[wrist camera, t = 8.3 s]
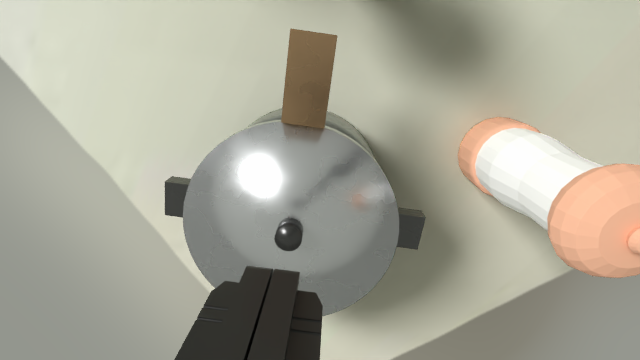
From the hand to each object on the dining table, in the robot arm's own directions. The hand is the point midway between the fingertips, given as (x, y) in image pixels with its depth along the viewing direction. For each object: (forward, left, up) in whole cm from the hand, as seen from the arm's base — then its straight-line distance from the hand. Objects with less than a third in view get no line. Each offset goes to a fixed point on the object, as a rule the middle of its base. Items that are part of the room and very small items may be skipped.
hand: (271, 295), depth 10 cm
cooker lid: (+1, +4, -18) cm, 18 cm away
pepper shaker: (-18, 0, -28) cm, 33 cm away
